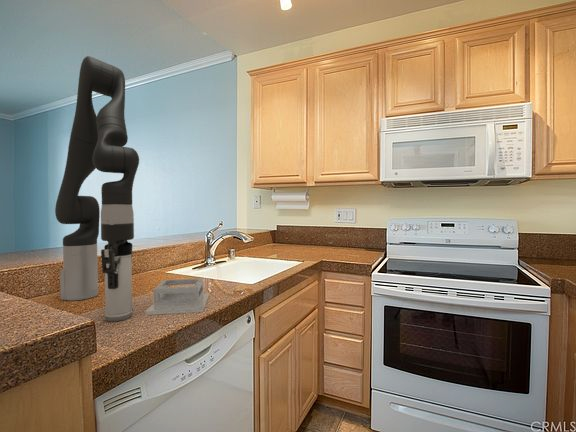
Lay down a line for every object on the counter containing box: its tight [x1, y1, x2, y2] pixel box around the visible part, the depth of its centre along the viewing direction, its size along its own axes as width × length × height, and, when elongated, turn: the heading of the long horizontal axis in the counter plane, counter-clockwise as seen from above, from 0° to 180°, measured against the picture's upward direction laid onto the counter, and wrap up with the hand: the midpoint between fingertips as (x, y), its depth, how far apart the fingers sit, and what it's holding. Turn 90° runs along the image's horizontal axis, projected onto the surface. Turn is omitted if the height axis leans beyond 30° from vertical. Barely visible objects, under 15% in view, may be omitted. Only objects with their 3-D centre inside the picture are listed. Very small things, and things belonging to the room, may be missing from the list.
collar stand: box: [145, 277, 210, 316], centre depth 88 cm, size 15×15×6 cm
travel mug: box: [104, 240, 133, 322], centre depth 78 cm, size 6×7×20 cm
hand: (118, 284), depth 78 cm, fingers closed on travel mug, 6 cm apart
